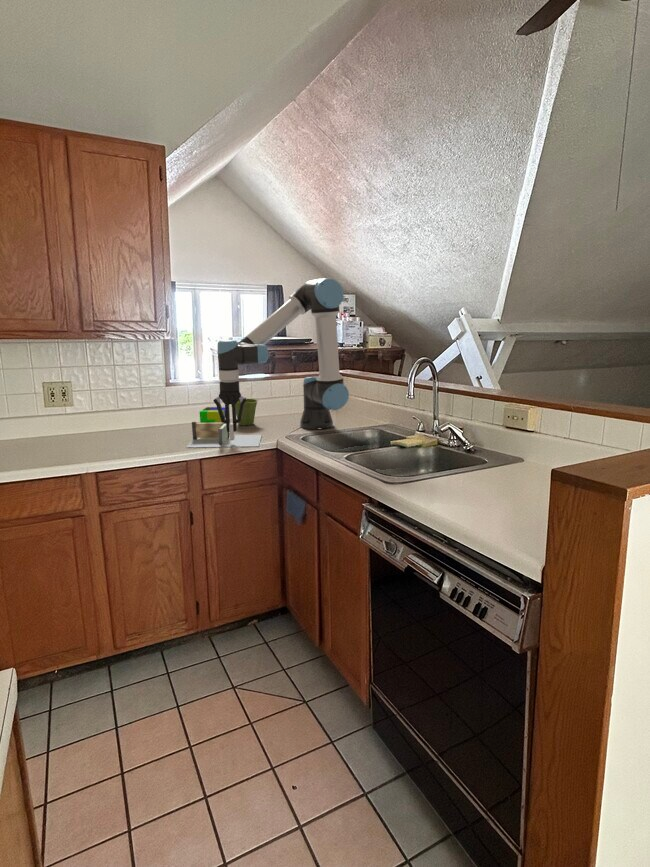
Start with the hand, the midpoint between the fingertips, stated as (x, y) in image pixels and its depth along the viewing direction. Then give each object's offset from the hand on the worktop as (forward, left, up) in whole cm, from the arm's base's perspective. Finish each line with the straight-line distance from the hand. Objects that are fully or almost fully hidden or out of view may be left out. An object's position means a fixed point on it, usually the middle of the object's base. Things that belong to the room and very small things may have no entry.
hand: (232, 439), depth 199 cm
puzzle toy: (+10, -23, -3) cm, 25 cm away
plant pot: (-2, -37, -2) cm, 37 cm away
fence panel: (+4, -2, -1) cm, 4 cm away
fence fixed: (+10, -9, -2) cm, 14 cm away
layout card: (+3, -5, -2) cm, 7 cm away
